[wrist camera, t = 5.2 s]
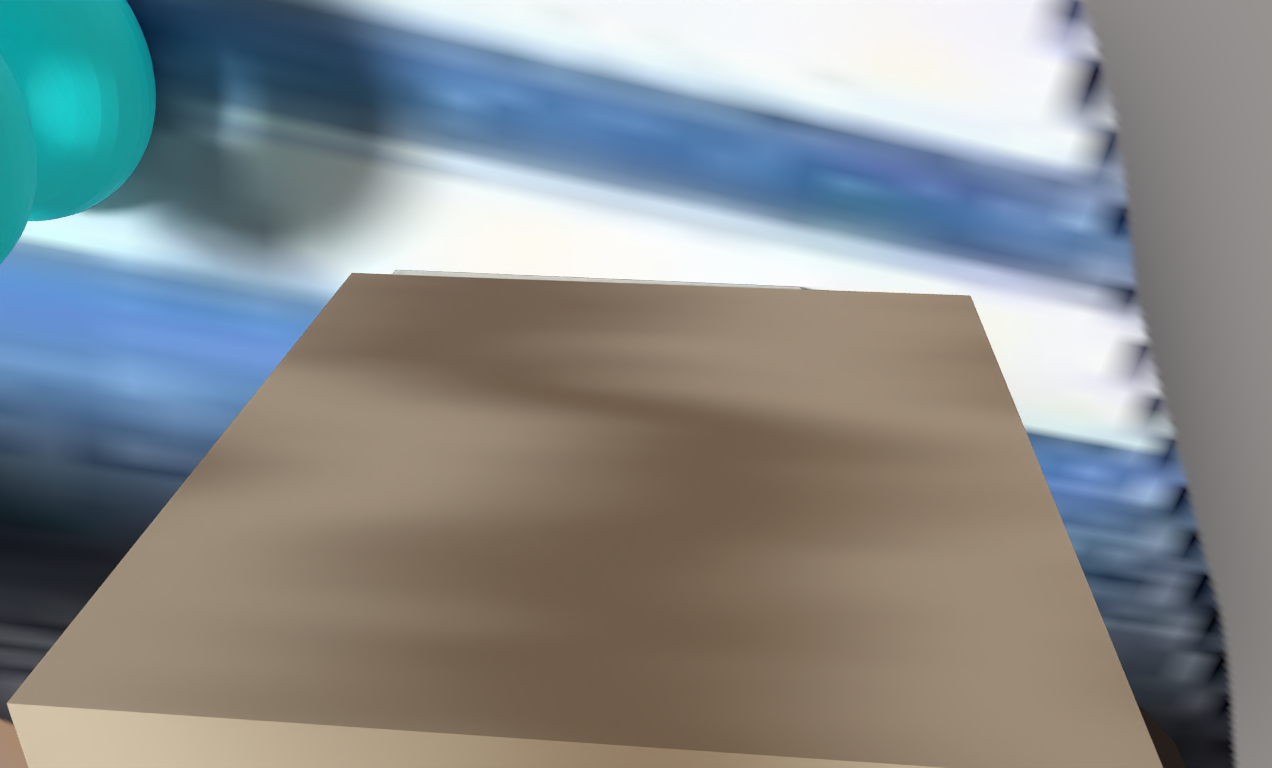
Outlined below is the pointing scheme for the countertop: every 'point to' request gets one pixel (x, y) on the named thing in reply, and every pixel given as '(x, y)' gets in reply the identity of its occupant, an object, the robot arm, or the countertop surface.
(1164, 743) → the robot arm
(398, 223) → the countertop surface
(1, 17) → the donuts
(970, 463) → the wooden cube
